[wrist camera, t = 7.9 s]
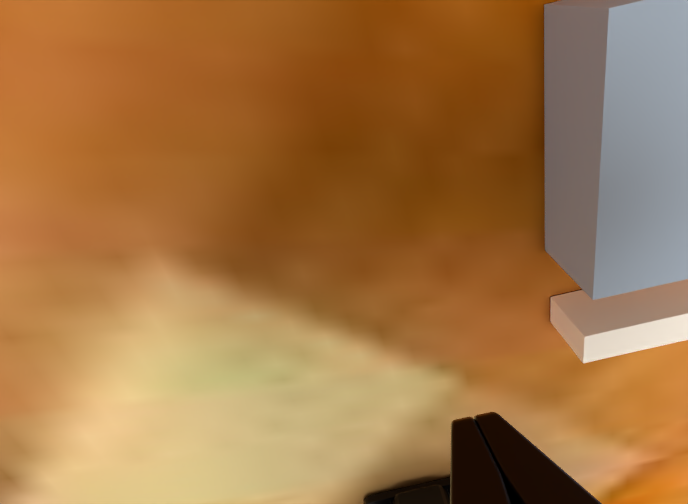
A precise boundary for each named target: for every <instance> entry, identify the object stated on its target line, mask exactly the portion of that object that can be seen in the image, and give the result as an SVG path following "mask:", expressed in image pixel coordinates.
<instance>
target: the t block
mask: <svg viewBox="0 0 688 504" xmlns="http://www.w3.org/2000/svg"><path fill="white" fill-rule="evenodd" d="M544 114H545V251H546V252H547V253H548V254H549V255H550V256H551V257H552V258H553V259H554V260H555V261H556V262H557V263H558V264H559V265H560V266H561V268H562V269H563V270H564V271H565V272H566V273H567V274H568V275H569V276H570V277H571V278H572V279H573V280H574V281H575V282H576V283H577V284H578V285H579V286H580V287H581V288H582V289H583V290H584V292H585V293H586V294H587V295H588V296H589V297H590V298H591V299H592V300H596V299H600V298H605V297H609V296H614V295H618V294H623V293H627V292H632V291H636V290H641V289H645V288H649V287H654V286H658V285H663V284H667V283H672V282H676V281H681V280H685V279H688V0H561V1H556V2H552V3H548V4H544Z"/></svg>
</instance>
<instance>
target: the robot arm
mask: <svg viewBox="0 0 688 504" xmlns="http://www.w3.org/2000/svg"><path fill="white" fill-rule="evenodd" d="M364 504H601V503H600V502H599V501H598V500H597V499H596V498H595V497H593V496H592V495H591V494H590V493H589V492H588V491H586V490H585V489H584V488H583V487H582V486H581V485H580V484H578V483H577V482H576V481H575V480H574V479H573V478H571V477H570V476H569V475H568V474H567V473H566V472H564V471H563V470H562V469H561V468H560V467H559V466H558V465H556V464H555V463H554V462H553V461H552V460H551V459H549V458H548V457H547V456H546V455H545V454H544V453H543V452H541V451H540V450H539V449H538V448H537V447H536V446H534V445H533V444H532V443H531V442H530V441H529V440H528V439H526V438H525V437H524V436H523V435H522V434H521V433H519V432H518V431H517V430H516V429H515V428H514V427H513V426H511V425H510V424H509V423H508V422H507V421H506V420H504V419H503V418H502V417H501V416H500V415H499V414H497V413H495V412H489V413H484V414H480V415H476V416H475V417H474V419H473V418H472V417H466V418H461V419H457V420H453V421H452V423H451V477H450V478H447V479H442V480H438V481H433V482H429V483H424V484H420V485H415V486H411V487H407V488H402V489H398V490H393V491H389V492H384V493H380V494H375V495H371V496H368V497H366V498H365V499H364Z"/></svg>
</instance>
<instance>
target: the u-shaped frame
mask: <svg viewBox="0 0 688 504" xmlns="http://www.w3.org/2000/svg"><path fill="white" fill-rule="evenodd" d="M550 322H551V323H552V325H553V326H554V327H555V328H556V330H557V331H558V332H559V333H560V335H561V336H562V337H563V338H564V340H565V341H566V342H567V344H568V345H569V346H570V347H571V349H572V350H573V351H574V352H575V354H576V355H577V356H578V357H579V359H580V360H581V361H582V362H583V363H587V362H591V361H596V360H600V359H605V358H609V357H613V356H618V355H622V354H627V353H631V352H635V351H640V350H644V349H649V348H653V347H658V346H662V345H666V344H671V343H675V342H680V341H684V340H688V279H685V280H681V281H676V282H672V283H667V284H663V285H658V286H654V287H649V288H645V289H641V290H636V291H632V292H627V293H623V294H618V295H614V296H609V297H605V298H600V299H596V300H592V299H591V298H590V297H589V296H588V295H587V294H586V293H585V292H584V290H579V291H574V292H570V293H566V294H561V295H557V296H552V297H551V299H550Z"/></svg>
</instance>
